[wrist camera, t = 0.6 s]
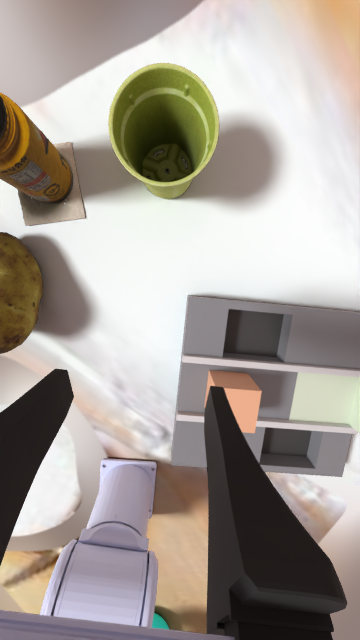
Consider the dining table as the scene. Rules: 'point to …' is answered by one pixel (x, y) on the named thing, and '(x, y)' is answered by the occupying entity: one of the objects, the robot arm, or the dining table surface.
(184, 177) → the plant pot
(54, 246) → the dining table surface
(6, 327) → the potato
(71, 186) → the condiment
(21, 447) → the robot arm
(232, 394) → the terracotta block
